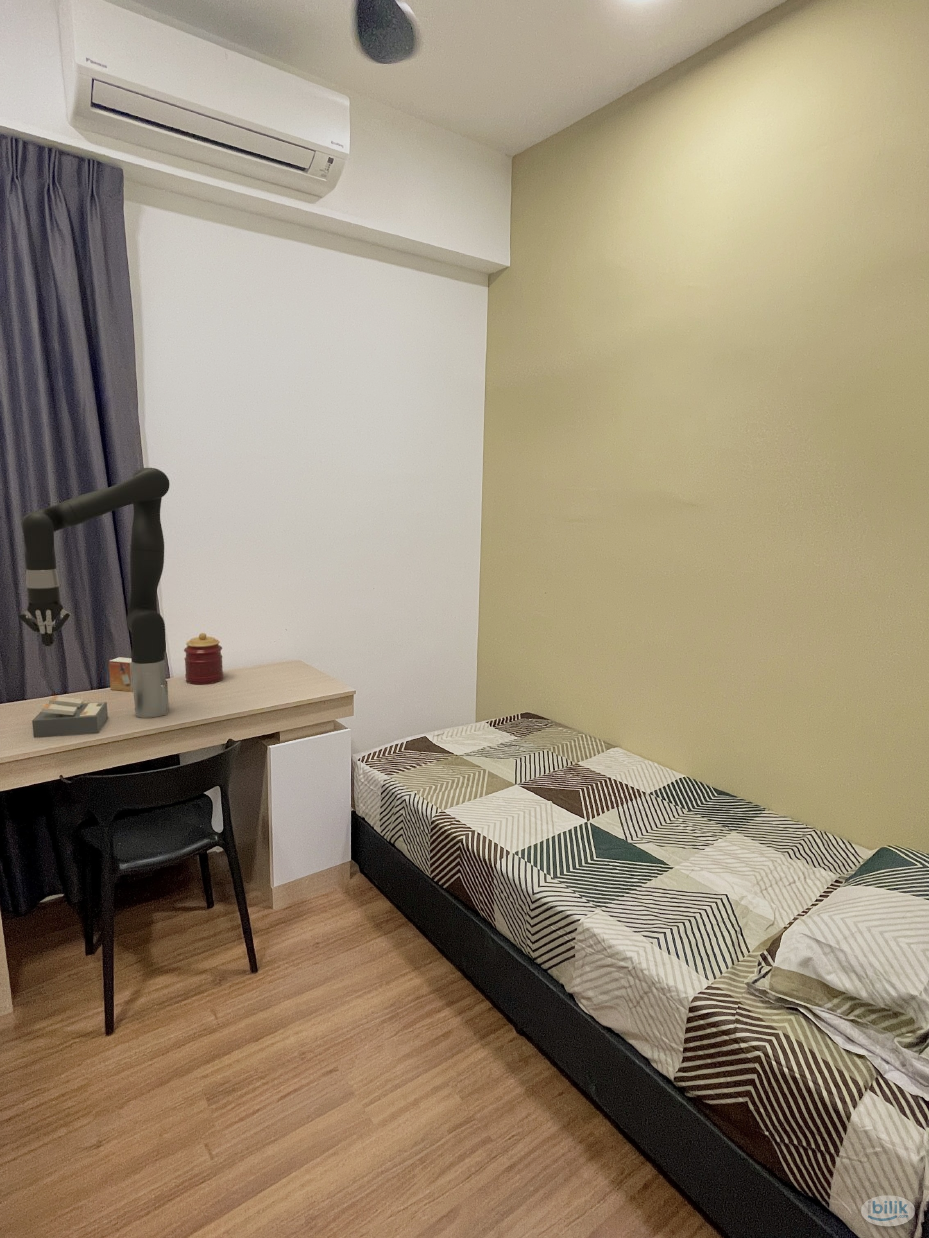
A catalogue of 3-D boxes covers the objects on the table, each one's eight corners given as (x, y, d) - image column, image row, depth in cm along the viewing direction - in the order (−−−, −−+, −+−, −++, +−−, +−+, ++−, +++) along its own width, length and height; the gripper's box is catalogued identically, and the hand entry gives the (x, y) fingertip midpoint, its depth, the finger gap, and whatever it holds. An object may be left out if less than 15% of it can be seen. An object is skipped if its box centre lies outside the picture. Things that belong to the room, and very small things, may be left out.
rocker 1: (82, 703, 194) (83, 699, 194) (79, 707, 191) (80, 703, 190) (52, 699, 191) (53, 695, 191) (48, 703, 188) (49, 699, 188)
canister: (195, 674, 245) (192, 628, 242) (229, 675, 245) (227, 630, 241) (179, 684, 232) (176, 636, 229) (214, 685, 232) (212, 637, 228)
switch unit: (107, 717, 198) (106, 699, 197) (98, 733, 186) (96, 714, 185) (47, 721, 193) (46, 703, 192) (33, 737, 181) (31, 718, 180)
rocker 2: (76, 711, 187) (77, 706, 187) (73, 715, 184) (74, 710, 184) (45, 707, 185) (45, 703, 184) (41, 711, 181) (41, 707, 181)
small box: (110, 690, 223) (108, 660, 221) (121, 685, 229) (119, 656, 227) (131, 692, 222) (129, 662, 220) (142, 687, 228) (140, 658, 225)
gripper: (73, 582, 185) (78, 641, 189) (20, 583, 181) (26, 643, 185) (66, 586, 178) (71, 648, 182) (10, 587, 174) (17, 649, 178)
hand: (48, 645), depth 183 cm, fingers closed
